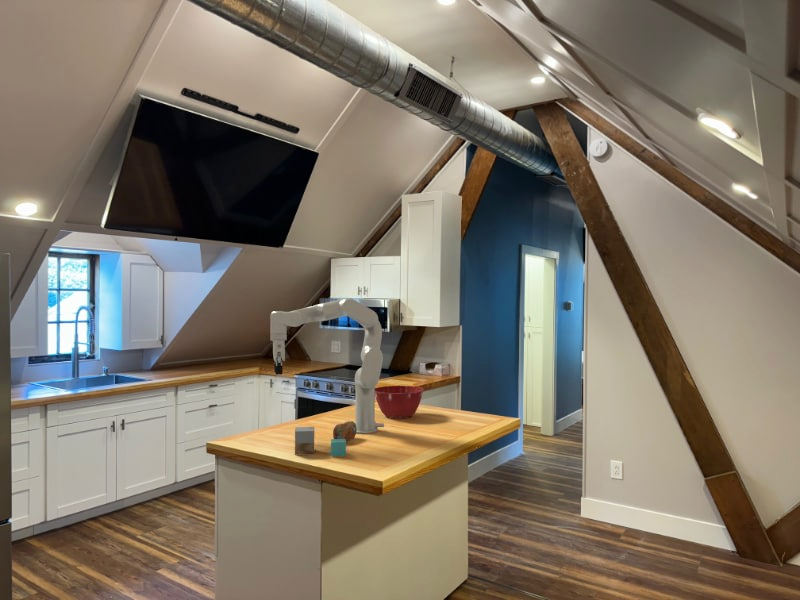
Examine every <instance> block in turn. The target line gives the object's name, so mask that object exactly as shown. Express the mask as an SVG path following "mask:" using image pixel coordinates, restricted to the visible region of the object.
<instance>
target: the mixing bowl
mask: <svg viewBox="0 0 800 600" xmlns="http://www.w3.org/2000/svg"><path fill="white" fill-rule="evenodd" d="M374 389H375V400H376V403H377V404H378V407H379V409H380V411H381V413H382V414H383V415H385V417H387V418H389V417H391V418H390V419H395V418H402V419H408V418H407V417H409V418H410V416H411V417H412V416H413V415H414V414H415V413H416V412H417V411H418V408H419V405H420V404H421V401H422V396H423V392H424V387H421V386H415V385H414V386H413V385H385V386H378V387H374Z"/></svg>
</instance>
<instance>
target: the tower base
mask: <svg viewBox="0 0 800 600" xmlns="http://www.w3.org/2000/svg"><path fill="white" fill-rule="evenodd" d="M296 454H311V455H315V442H314V443H295V442H294V456H297V455H296Z"/></svg>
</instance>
